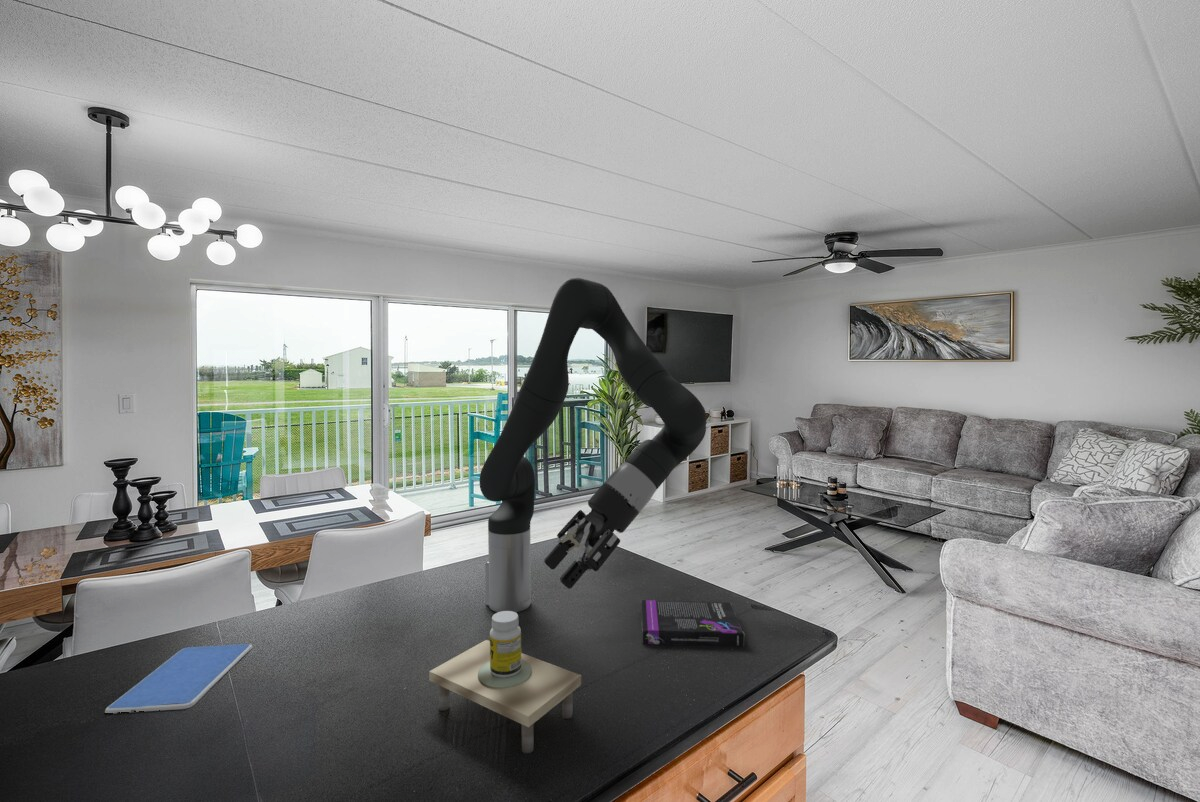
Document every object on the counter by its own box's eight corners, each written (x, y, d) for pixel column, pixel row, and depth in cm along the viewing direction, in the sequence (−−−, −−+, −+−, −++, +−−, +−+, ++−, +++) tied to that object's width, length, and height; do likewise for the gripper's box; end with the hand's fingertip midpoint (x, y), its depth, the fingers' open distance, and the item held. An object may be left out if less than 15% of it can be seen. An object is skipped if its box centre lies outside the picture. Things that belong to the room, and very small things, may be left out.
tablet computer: (190, 712, 85) (190, 703, 84) (101, 717, 83) (100, 709, 83) (254, 649, 104) (254, 642, 104) (182, 653, 102) (182, 646, 102)
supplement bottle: (492, 662, 86) (491, 609, 85) (522, 661, 86) (521, 608, 86) (488, 679, 81) (487, 623, 81) (520, 678, 81) (519, 622, 81)
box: (641, 648, 105) (745, 649, 104) (641, 630, 105) (745, 631, 103) (641, 615, 119) (732, 616, 118) (640, 599, 119) (732, 600, 117)
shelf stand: (429, 709, 84) (429, 668, 84) (486, 673, 94) (486, 637, 94) (528, 760, 73) (528, 713, 73) (581, 713, 83) (581, 672, 83)
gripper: (591, 474, 95) (527, 547, 91) (626, 490, 82) (552, 576, 78) (619, 501, 97) (558, 574, 93) (657, 521, 84) (587, 607, 80)
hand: (555, 575), depth 86 cm, fingers open, 8 cm apart
